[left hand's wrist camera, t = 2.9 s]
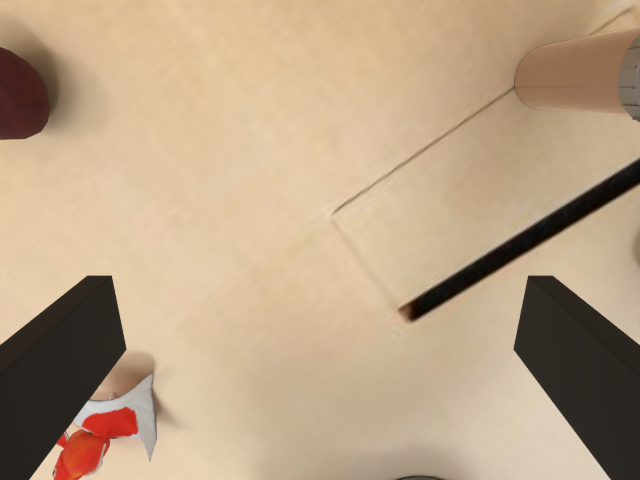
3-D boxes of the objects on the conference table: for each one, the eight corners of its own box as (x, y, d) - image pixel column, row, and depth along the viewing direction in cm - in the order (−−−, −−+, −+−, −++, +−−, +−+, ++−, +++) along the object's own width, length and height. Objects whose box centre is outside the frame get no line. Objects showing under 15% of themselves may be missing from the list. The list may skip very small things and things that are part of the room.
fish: (-1, 422, 44) (-10, 501, 37) (123, 330, 48) (138, 384, 40) (72, 459, 51) (77, 532, 43) (176, 375, 54) (198, 429, 47)
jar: (513, 112, 37) (636, 126, 23) (514, 49, 36) (649, 21, 21) (572, 103, 37) (734, 112, 23) (576, 39, 35) (756, 4, 21)
